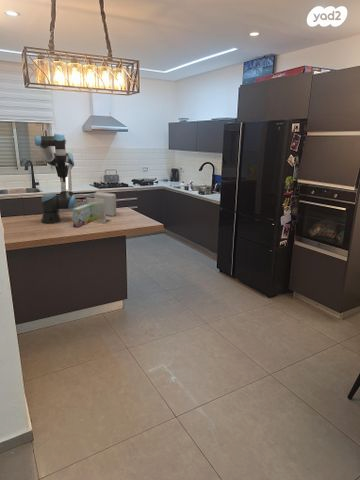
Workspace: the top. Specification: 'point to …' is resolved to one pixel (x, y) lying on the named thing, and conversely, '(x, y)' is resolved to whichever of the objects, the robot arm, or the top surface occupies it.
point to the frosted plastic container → (97, 210)
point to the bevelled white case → (108, 202)
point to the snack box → (81, 215)
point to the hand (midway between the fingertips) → (63, 186)
